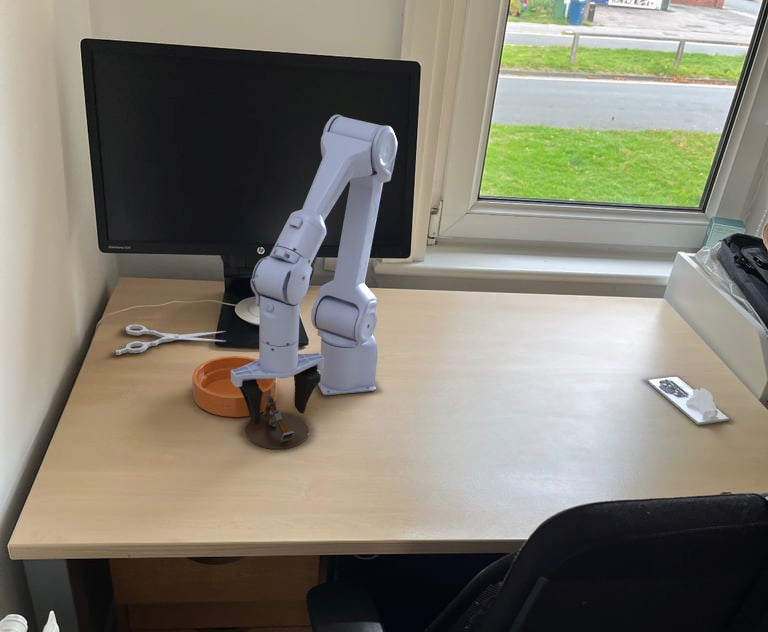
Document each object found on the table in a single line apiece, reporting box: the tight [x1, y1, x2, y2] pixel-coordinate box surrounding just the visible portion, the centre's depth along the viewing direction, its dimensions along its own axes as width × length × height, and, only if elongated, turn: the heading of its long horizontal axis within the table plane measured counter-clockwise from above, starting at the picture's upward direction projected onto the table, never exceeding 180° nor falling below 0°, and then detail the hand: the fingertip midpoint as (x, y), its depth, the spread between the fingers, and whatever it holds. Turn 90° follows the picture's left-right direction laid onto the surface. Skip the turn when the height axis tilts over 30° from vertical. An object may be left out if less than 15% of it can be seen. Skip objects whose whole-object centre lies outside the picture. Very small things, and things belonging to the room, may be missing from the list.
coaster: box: [244, 412, 310, 451], centre depth 130 cm, size 10×10×1 cm
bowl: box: [191, 355, 278, 418], centre depth 136 cm, size 14×14×4 cm
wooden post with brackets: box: [262, 395, 294, 442], centre depth 129 cm, size 2×8×4 cm, turn 33°
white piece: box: [647, 376, 730, 426], centre depth 149 cm, size 15×7×4 cm, turn 20°
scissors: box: [115, 324, 226, 356], centre depth 152 cm, size 11×1×20 cm
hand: (277, 415), depth 128 cm, fingers open, 7 cm apart
